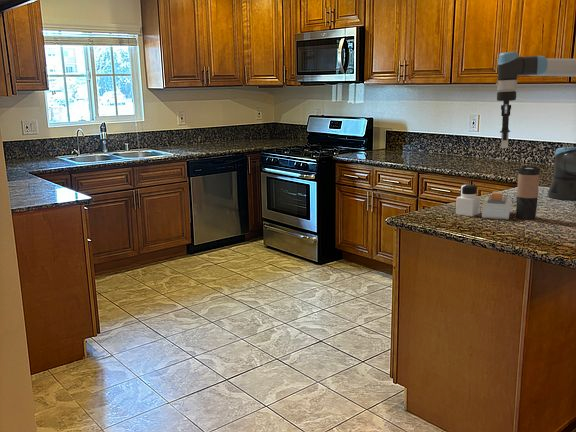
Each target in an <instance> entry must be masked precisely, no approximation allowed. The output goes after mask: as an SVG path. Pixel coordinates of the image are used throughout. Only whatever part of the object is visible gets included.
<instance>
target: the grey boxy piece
mask: <svg viewBox="0 0 576 432" xmlns="http://www.w3.org/2000/svg"><path fill="white" fill-rule="evenodd" d="M507 196H508V195H503V200H491V198H492V194H490V195H489V196H485V197H484V199H483V202H482V206H481V207H482V211H481V212H482V213H481V218H483V219H495V220H497V219H498V220H509V219H510V215H511V212H512V211H511V210H512V208H511V207H512V197H507Z"/></svg>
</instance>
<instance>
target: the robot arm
mask: <svg viewBox="0 0 576 432" xmlns="http://www.w3.org/2000/svg"><path fill="white" fill-rule="evenodd" d="M521 76H522V77H523V76H524V77H530V76H531V77H571V78H572V77H576V58H559V57H558V58H557V57H555V58H551V57H550V58H549V57H547V58H546V56H545V55H529V56H519V53H518V52H517V51H508V52H507V51H506V52H501V53H499V54H498V58H497V82H496V83H495V86H496V87H497V90H496V91H498V92H497V93H496V101H497V102H502V103H503V104H500V105H501V106H500V110H501V114H500V115H501V117H502V118H501V120H502V121H501V122H502V124H501V126H502V127H501V130H500V131H499V133H501V139H500V140H501V141H500V142H501V143H500V148H501V149H508V148H509V133H511V130H510V129H509V121H510V119H509V118H510V116H511V110H512V104H510V102H511V101H512V102H513V101H516V100H517V91H516V90H517V89H518V88H517V87H518V77H521ZM553 165H554V166H553V177H552V182H551V183H550V186H549V189H548V190H547V197H548V198H551V199H555V200H563V201H576V146H573V147H572V146H570V147H558V148H556V149H555V154H554V163H553Z"/></svg>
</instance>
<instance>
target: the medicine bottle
mask: <svg viewBox="0 0 576 432" xmlns="http://www.w3.org/2000/svg"><path fill="white" fill-rule="evenodd" d="M477 188H478V186H477V185H474V184H463V185H461V187H460V196H457V197H456V202H455V205H456V207H455V214H456V215H458V216H464V217H465V216H466V217H474V216H477V215H480V210H481V207H480V206H481V196H478V195H477V193H478V192H477Z"/></svg>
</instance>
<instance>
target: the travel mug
mask: <svg viewBox="0 0 576 432" xmlns="http://www.w3.org/2000/svg"><path fill="white" fill-rule="evenodd" d="M539 183H540V167H539V166H535V165H534V166H531V165H530V166H529V165H527V166H526V165H524V166H522V167H521V166H519V167H518V176H517V189H516V206H515V208H516V209H515V217H516V219H519V220H526V221H527V220H528V221H531V220H532V221H533V220H536V216H537V208H538V198H539V186H540V185H539Z"/></svg>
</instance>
